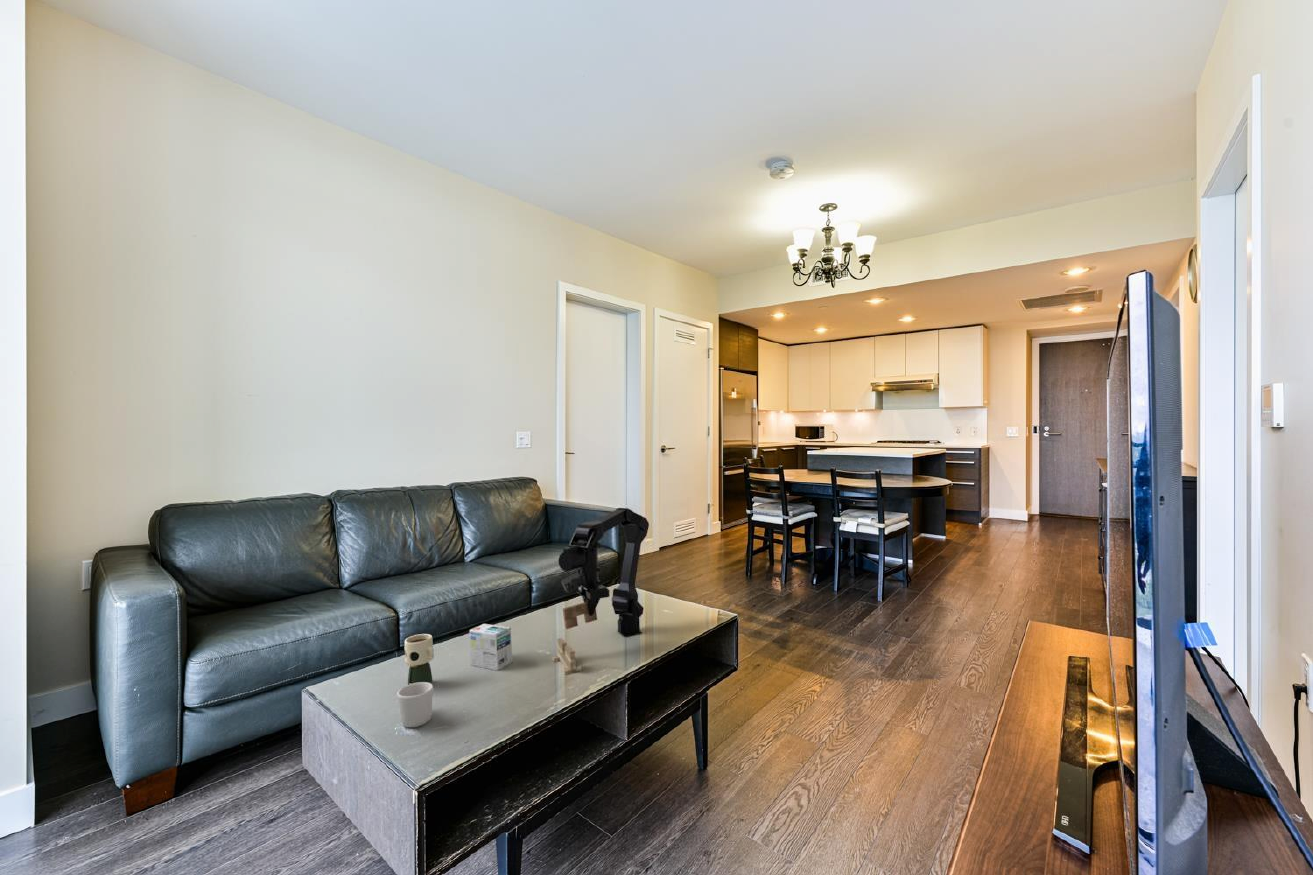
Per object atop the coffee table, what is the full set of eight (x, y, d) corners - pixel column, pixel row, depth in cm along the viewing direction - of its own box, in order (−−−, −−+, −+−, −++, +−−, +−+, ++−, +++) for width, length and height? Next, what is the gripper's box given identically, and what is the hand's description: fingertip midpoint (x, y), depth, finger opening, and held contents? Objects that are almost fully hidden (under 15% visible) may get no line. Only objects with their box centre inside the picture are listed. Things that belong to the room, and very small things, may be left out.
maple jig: (568, 656, 169) (567, 636, 169) (581, 670, 158) (580, 649, 158) (552, 659, 166) (551, 639, 166) (564, 674, 156) (564, 653, 156)
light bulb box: (513, 662, 166) (511, 626, 166) (497, 671, 160) (496, 634, 160) (485, 657, 170) (484, 622, 170) (469, 665, 164) (468, 629, 164)
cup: (409, 709, 138) (408, 677, 138) (442, 707, 139) (441, 675, 139) (392, 732, 128) (391, 698, 128) (428, 729, 128) (426, 695, 128)
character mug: (395, 687, 151) (393, 640, 151) (417, 676, 158) (415, 631, 158) (423, 694, 146) (421, 645, 146) (444, 683, 153) (442, 636, 153)
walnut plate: (595, 618, 173) (593, 599, 172) (597, 619, 171) (594, 600, 171) (565, 627, 168) (562, 608, 168) (566, 629, 167) (564, 609, 166)
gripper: (554, 562, 176) (555, 611, 176) (573, 574, 159) (575, 628, 159) (587, 557, 181) (588, 605, 181) (609, 568, 164) (611, 621, 164)
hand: (590, 614), depth 171 cm, fingers closed on walnut plate, 1 cm apart
